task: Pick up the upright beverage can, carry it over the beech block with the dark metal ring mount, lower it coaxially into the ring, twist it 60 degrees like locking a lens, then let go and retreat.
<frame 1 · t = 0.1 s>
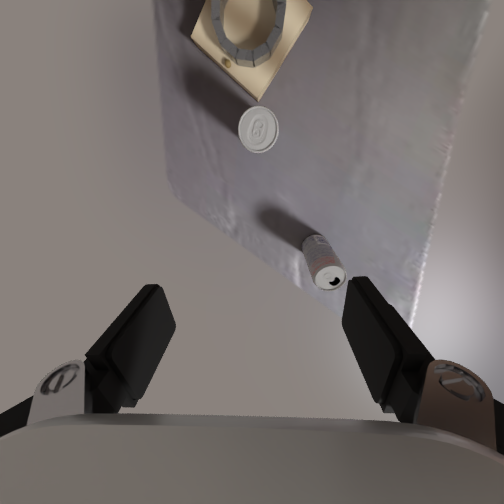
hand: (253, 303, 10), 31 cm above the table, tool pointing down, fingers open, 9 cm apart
energy drink: (314, 245, 43), on the table
mount block: (251, 34, 28), on the table
beverage can: (260, 134, 34), on the table
mount ring: (248, 17, 24), point 4 cm above the table
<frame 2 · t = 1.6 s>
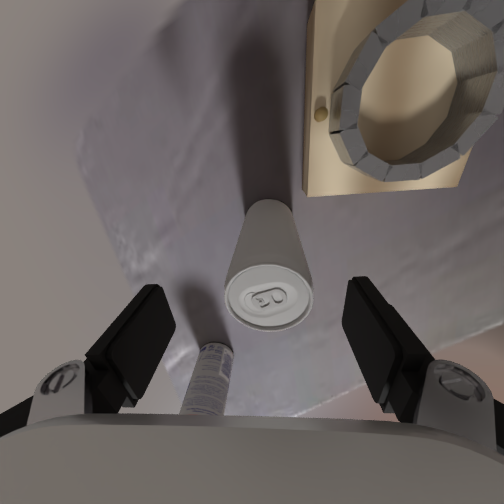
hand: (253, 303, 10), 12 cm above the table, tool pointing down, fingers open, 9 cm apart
energy drink: (217, 351, 32), on the table
mount block: (376, 112, 16), on the table
beverage can: (268, 219, 21), on the table
mount ring: (408, 103, 12), point 4 cm above the table
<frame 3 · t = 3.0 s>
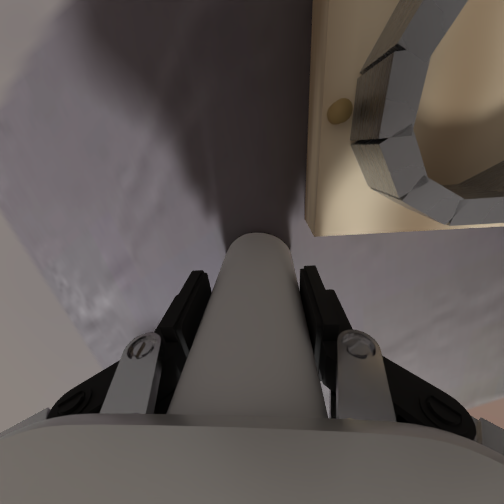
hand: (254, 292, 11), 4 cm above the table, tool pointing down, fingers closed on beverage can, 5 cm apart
mount block: (415, 111, 11), on the table
beverage can: (259, 257, 15), on the table, touching gripper
mount ring: (499, 91, 7), point 4 cm above the table
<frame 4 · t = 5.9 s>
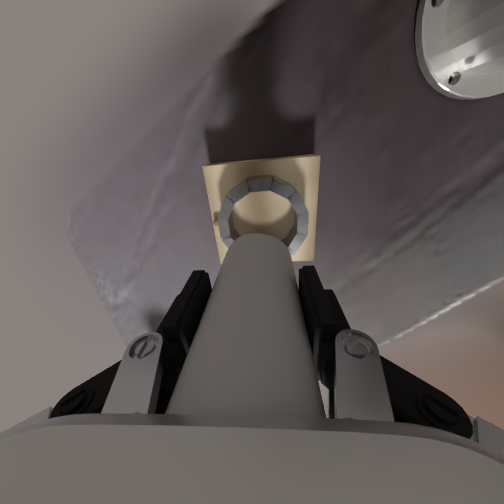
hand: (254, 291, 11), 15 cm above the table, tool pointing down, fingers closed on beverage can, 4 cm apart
mount block: (263, 209, 24), on the table
beverage can: (258, 257, 15), point 10 cm above the table, touching gripper
mount ring: (263, 221, 20), point 4 cm above the table
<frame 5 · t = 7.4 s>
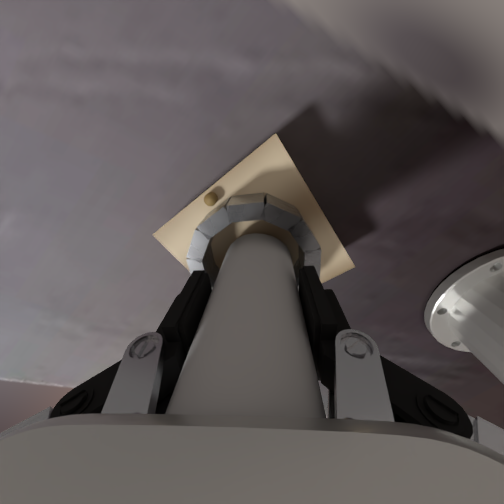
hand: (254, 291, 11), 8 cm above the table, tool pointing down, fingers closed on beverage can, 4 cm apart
mount block: (256, 235, 18), on the table
beverage can: (258, 257, 15), point 3 cm above the table, touching gripper
mount ring: (254, 259, 14), point 4 cm above the table
when the fingers open (8 cm above the table, at t = 8.4 s): beverage can stays where it is, resting on mount block.
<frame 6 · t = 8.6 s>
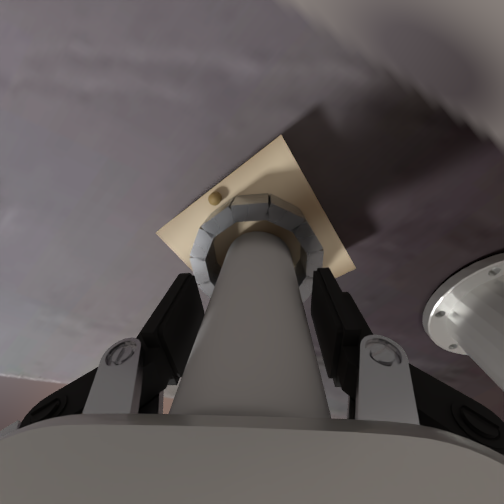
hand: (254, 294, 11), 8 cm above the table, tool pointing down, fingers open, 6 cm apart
mount block: (258, 235, 18), on the table
beverage can: (258, 255, 16), point 3 cm above the table, touching mount block
mount ring: (256, 258, 14), point 4 cm above the table
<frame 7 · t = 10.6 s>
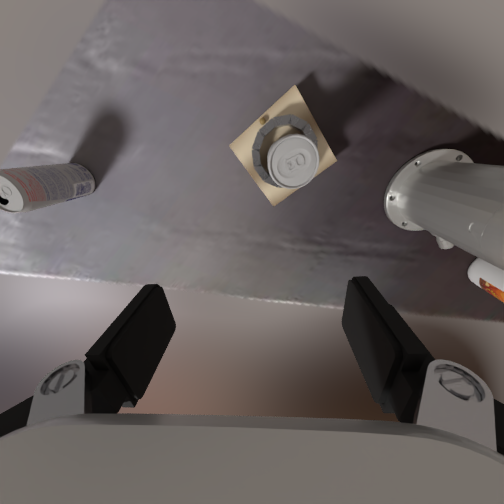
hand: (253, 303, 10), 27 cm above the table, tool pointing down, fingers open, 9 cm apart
energy drink: (82, 179, 36), on the table
milk bottle: (488, 265, 38), on the table
mount block: (281, 152, 31), on the table
beverage can: (283, 157, 29), point 3 cm above the table, touching mount block
mount ring: (283, 153, 28), point 4 cm above the table
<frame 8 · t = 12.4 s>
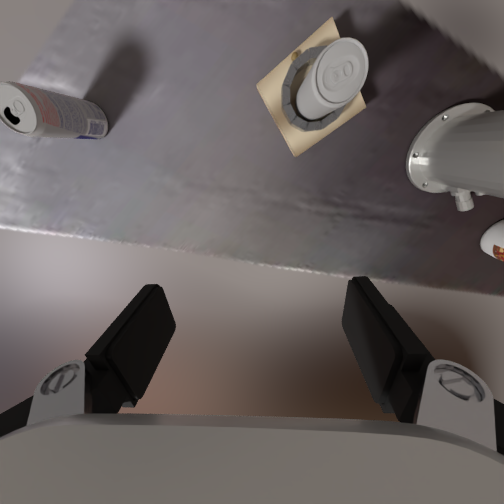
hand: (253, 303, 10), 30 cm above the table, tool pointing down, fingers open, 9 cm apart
energy drink: (94, 121, 34), on the table
milk bottle: (500, 235, 39), on the table
mount block: (307, 100, 31), on the table
beverage can: (312, 100, 28), point 3 cm above the table, touching mount block
mount ring: (313, 93, 27), point 4 cm above the table
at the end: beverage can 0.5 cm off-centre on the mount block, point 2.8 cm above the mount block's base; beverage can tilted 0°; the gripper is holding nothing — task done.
